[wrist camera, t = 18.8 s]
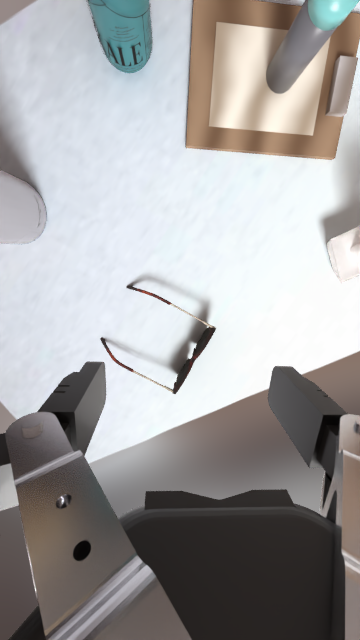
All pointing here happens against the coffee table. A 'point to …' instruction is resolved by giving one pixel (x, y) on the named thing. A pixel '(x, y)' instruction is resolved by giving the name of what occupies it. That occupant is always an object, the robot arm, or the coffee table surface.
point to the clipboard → (264, 82)
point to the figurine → (345, 254)
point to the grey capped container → (305, 40)
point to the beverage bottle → (124, 31)
